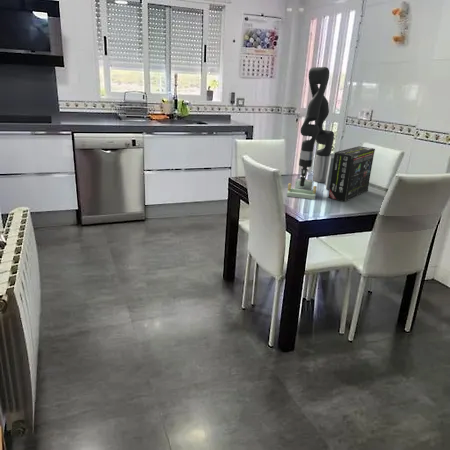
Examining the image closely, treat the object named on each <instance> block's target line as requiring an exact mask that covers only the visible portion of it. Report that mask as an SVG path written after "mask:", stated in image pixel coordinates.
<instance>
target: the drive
mask: <svg viewBox="0 0 450 450" xmlns="http://www.w3.org/2000/svg"><path fill="white" fill-rule="evenodd" d="M300 184H301V178H294V186H293V188H294V189H303V190H311V191H312V190H313V188H312V187H313V179H306V178H305V182H304V186H303V187H302V186H300Z"/></svg>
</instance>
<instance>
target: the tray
mask: <svg viewBox="0 0 450 450" xmlns="http://www.w3.org/2000/svg"><path fill="white" fill-rule="evenodd" d="M312 187H313V188H312V189H311V190H303V189H294V187H293V188H292V183H290V182H289V183H288V184H287V192H286V197H293V198H298V199H299V198H302V199H308V200H316V194H317V186H316V185H314V186H312Z"/></svg>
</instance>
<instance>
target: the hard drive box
mask: <svg viewBox="0 0 450 450" xmlns="http://www.w3.org/2000/svg"><path fill="white" fill-rule="evenodd" d="M333 161H334V153H331V154H330V158H329V164H328V171H327V177H326V182H325V190H330V182H331V175H332V168H333Z"/></svg>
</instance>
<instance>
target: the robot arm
mask: <svg viewBox="0 0 450 450" xmlns="http://www.w3.org/2000/svg"><path fill="white" fill-rule="evenodd" d="M329 80H330V70H329V68H328V67H326V66H324V67H323V66H320V67H318V66H317V67H316V66H315V67H311V68H310V69H309V70H308V83H309V87H310V92H311V97H312V98H311V100H310V101H309V103H308V105H307V111H306V115H305V119H304V121H303V123H302V124H301V128H300V134H301V136H303V137H311V138H310V139H305V140H302V142H301V149H300V155H299V159H298V161H299V162H298V166H300V167H302V168H300V179H301V184H300V186H302V187H303V186H304V182H305V179H306V178H307V176H308V171H309V169H308V168H312V165H313V159H314V148H315V147H314V146H315V143H316V144H318V145H323V146H324V147H323V148H320V149H317V150H316V151H315V152H316V153H315V159H314V166H313V174H312V182H317V183H326V177H327V171H328V164H329V158H330V154H332V150H333V144H334V141H335V140H334V139H335V133H334V131H332V130H327V129H324V127H323V125H324V122H325V121H326V119H327V118H328V116H329V114H330V109H329V102H328V99H327V98H326V96H325V92H326V89H327V87H328V83H329ZM311 122H314V124H313V123H311Z"/></svg>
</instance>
